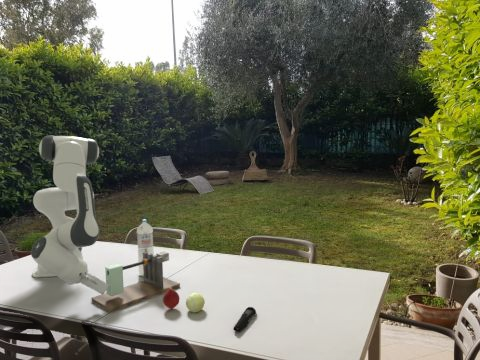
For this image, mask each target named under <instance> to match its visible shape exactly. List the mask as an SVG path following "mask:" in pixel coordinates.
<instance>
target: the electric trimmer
mask: <svg viewBox="0 0 480 360" xmlns="http://www.w3.org/2000/svg"><path fill="white" fill-rule="evenodd" d="M254 314H256V315H257V311H256V309H255V308H254V307H253V306H248V307H247V308H245V310H244V311H243V313H242V314H241V316H240V318H239V319H238V320H237V322H236V323H235V325H234V326H233V327H232V328H233V331H237V332H241V331H243V330H244V329H246V327H247V326H248V325H249V323H250V320H251V319H252V317H253V316H254ZM243 328H244V329H243Z"/></svg>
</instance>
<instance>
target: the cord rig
mask: <svg viewBox="0 0 480 360" xmlns="http://www.w3.org/2000/svg"><path fill="white" fill-rule="evenodd" d="M169 255H170V253H169V251H162V252H157V253H155V254H154V255H153V254H151V253H150V254H148V252H144V253H143V260H142V261H141V262H138V261H137V262H136V263H132V264H127V265H124V266H123V271H124V270H129V269H131V268H134V267H139V265H142V264H143V271H144V277H143V280H142V281H139V282H136V283H133V284H129V285H126V286H124V292H123V293H120V294H117V295H114V296H110V295H108V294H107V292H105V293H104V294H98V295H96V296H93V297H91V299H90V300H91V303H93V304H95V305H96V306H98V307H100V308H102V309H103V310H105V311H107V312H108V313H110V314H111V313H114V312H116V311H119V310H122V309H124V308H128V307H129V306H133V305H136V304H137V303H138V304H139V303H140V302H143V301H146V300H148V299H151V298H152V299H153V298H155V297H157V296H160V295H162V294H163V295H164V294H165V293H166V292H167V291H168V290H169V288H170V287H171V288H172V289H173V290H176V289H180V287H181V283H179V282H176V281H175V280H171V279H169V278H166V277H164V272H163V271H164V267H163V263H165V262H168V261H170V256H169ZM108 273H109V271H108Z"/></svg>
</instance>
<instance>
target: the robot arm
mask: <svg viewBox="0 0 480 360" xmlns="http://www.w3.org/2000/svg"><path fill="white" fill-rule="evenodd" d="M38 152H39V154H40V157H41V160H43V161H46V162H50V163H52V162H53V170H52V179H53V183H54V185H55V187H48V188H43V189H40V190H37V191H36V192H35V193H34V196H33V199H32V202H33V203H32V204H33V205H34V208H35V209H36V210H37V211H38V212H39V213H41V214H43V215H44V216H46V217H47V218H48V220H49V221H50V224H51V225H52V228H51V229H50V231H49V232H48V233H47V234H46V235H44V236H41V237H39V238H37V240H36V241H35V242H34V243H33V245H32V246H31V249H30V256H31V258H32V260H34V262H35V263H37V267H35V268H34V269H33V270H32V272H31V273H32V274H31V276H32V277H33V278H47V277H50V278H51V277H57V278H58V279H60V280H62V281H63V282H64V283H66V284H68V285H69V286H71V285H75V284H81V285H84V286H86V287H88V288H89V289H91V290H93V291H95V292H97V293H99V295H102V294H105V293H106V292H107V288H108V287H109V286H108V284H106V281H103V280H102V279H100V278H99V277H97V276H96V275H95V274H92V273H89V269H88V263H87V262H86V261H85V260H84V256H83V253H82V251H83V248H85V247H89V246H93V245H94V244H96V242H97V241H98V239H99V237H100V236H99V235H100V225H99V222H98V219H97V215H96V206H95V194H94V190H93V187H92V182H91V180H90V179H89V178H88V177H87V174H86V173H87V172H86V168H87V167H86V166H87V165H92V164H94V163H96V162H97V159H98V157H99V156H100V155H99V154H100V148H99V145H98V142H97V141H96V140H95V139H92V138H85V137H79V136H72V135H70V136H68V135H56V136H55V135H53V134H52V135H44V137H42V139H41V141H40V142H39V145H38ZM72 210H73V211H74V210H76V216H75V217H74V218H73V217H70V216H67V215H66V213H65V212H66V211H72Z"/></svg>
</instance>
